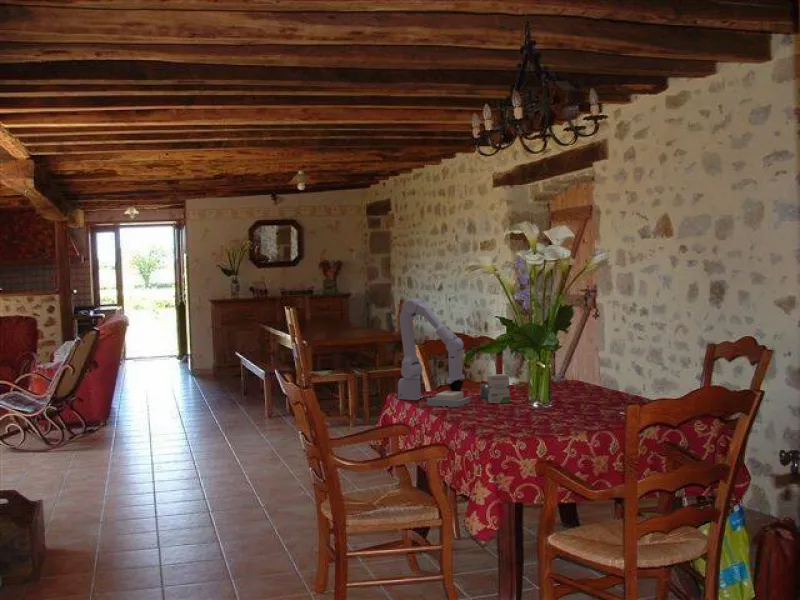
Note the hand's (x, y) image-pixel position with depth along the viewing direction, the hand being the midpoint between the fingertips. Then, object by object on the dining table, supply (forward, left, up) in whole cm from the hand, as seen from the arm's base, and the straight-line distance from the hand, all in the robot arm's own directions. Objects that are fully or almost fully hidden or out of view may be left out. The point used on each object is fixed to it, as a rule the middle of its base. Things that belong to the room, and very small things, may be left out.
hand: (456, 398), depth 376 cm
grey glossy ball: (+10, +11, -2) cm, 15 cm away
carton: (0, -7, -2) cm, 7 cm away
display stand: (0, -7, -1) cm, 7 cm away
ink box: (+18, +4, -2) cm, 18 cm away
